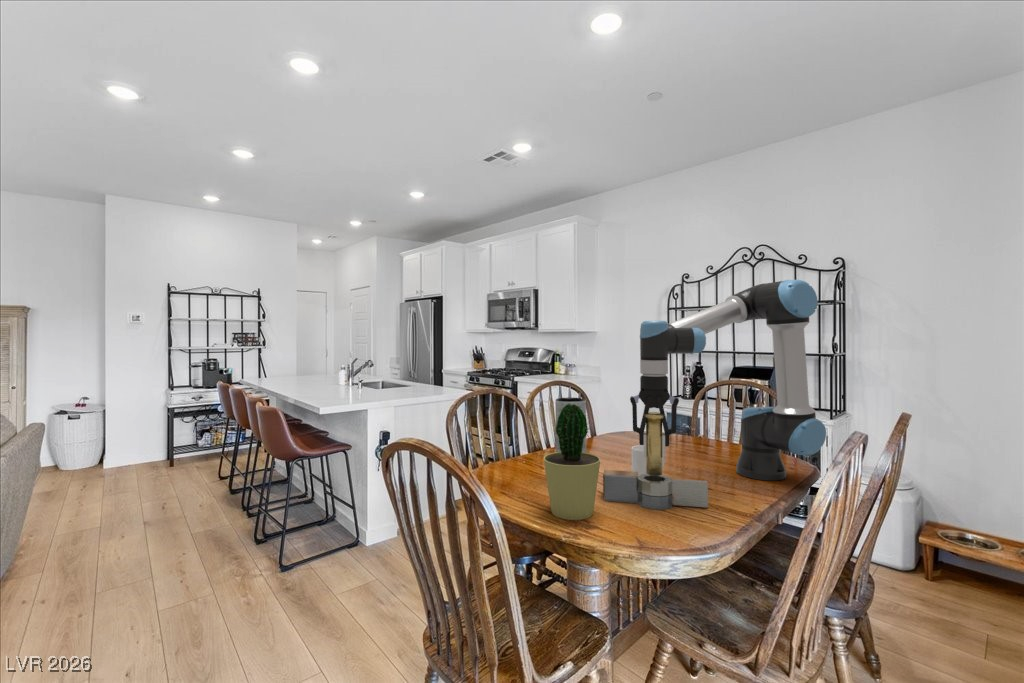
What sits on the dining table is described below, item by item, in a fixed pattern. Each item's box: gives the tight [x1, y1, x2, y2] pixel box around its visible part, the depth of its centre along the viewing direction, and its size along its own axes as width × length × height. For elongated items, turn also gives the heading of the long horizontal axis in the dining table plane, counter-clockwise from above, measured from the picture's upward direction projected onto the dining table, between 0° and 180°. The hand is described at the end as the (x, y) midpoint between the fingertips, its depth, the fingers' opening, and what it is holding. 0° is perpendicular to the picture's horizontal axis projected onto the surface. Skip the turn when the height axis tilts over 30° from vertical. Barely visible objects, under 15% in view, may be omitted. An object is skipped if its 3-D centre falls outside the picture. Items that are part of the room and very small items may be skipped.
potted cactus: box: [543, 403, 601, 521], centre depth 130 cm, size 15×15×30 cm
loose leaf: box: [638, 474, 709, 509], centre depth 135 cm, size 19×9×7 cm, turn 75°
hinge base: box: [604, 475, 673, 511], centre depth 137 cm, size 19×9×7 cm, turn 75°
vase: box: [554, 397, 587, 453], centre depth 158 cm, size 10×10×27 cm
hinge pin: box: [642, 411, 666, 476], centre depth 136 cm, size 6×6×17 cm
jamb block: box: [602, 469, 638, 500], centre depth 141 cm, size 10×5×7 cm, turn 75°
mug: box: [631, 444, 665, 476], centre depth 160 cm, size 12×8×10 cm
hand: (654, 456), depth 136 cm, fingers closed on hinge pin, 4 cm apart
